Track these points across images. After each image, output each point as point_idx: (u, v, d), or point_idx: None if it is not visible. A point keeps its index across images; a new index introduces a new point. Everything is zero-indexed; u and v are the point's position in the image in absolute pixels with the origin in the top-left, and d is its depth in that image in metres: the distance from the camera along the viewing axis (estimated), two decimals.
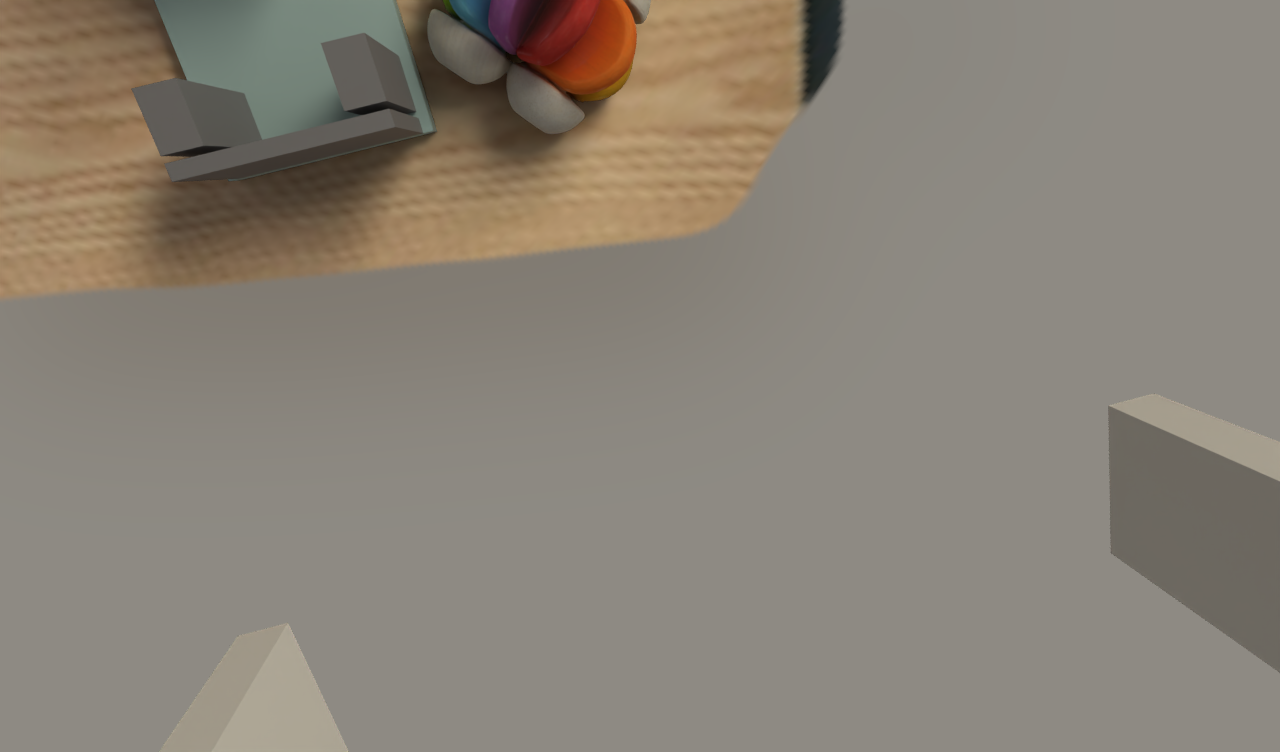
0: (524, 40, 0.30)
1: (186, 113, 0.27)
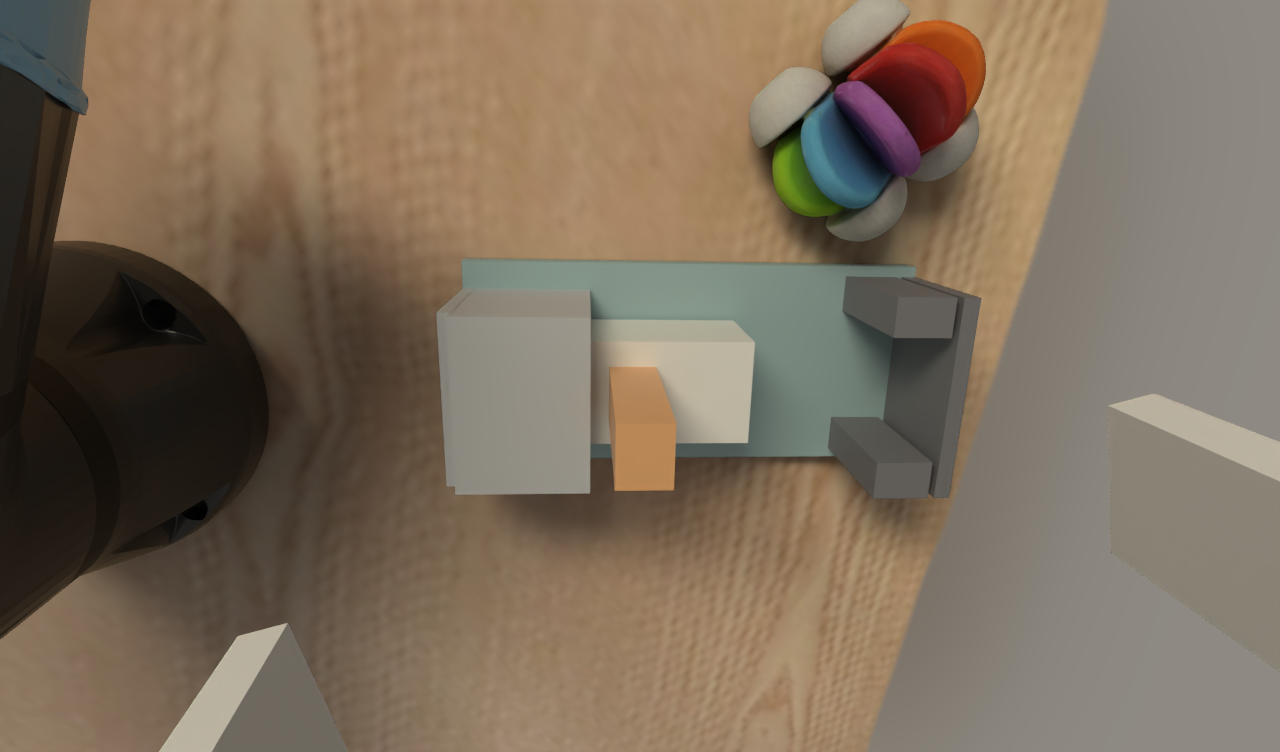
0: None
1: (905, 465, 0.30)
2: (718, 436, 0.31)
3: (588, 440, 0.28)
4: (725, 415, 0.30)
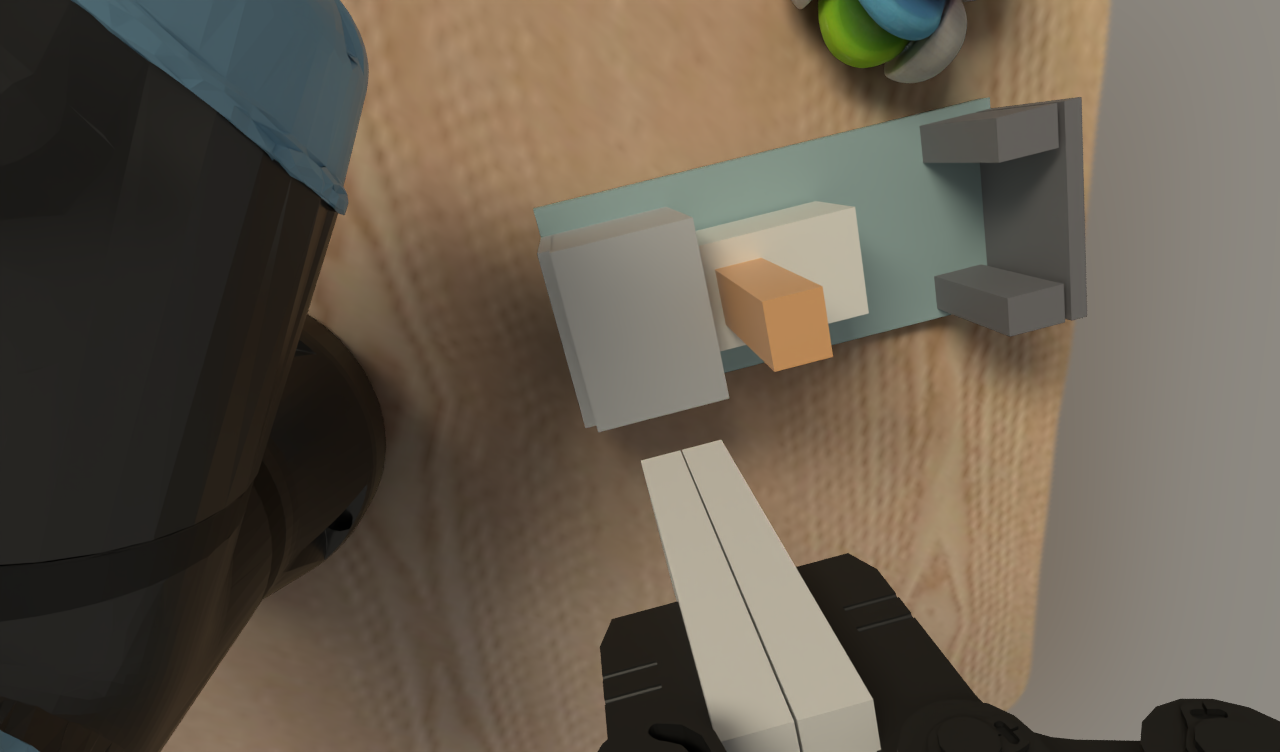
0: None
1: (1036, 294, 0.29)
2: (838, 313, 0.30)
3: (716, 344, 0.27)
4: (841, 290, 0.29)
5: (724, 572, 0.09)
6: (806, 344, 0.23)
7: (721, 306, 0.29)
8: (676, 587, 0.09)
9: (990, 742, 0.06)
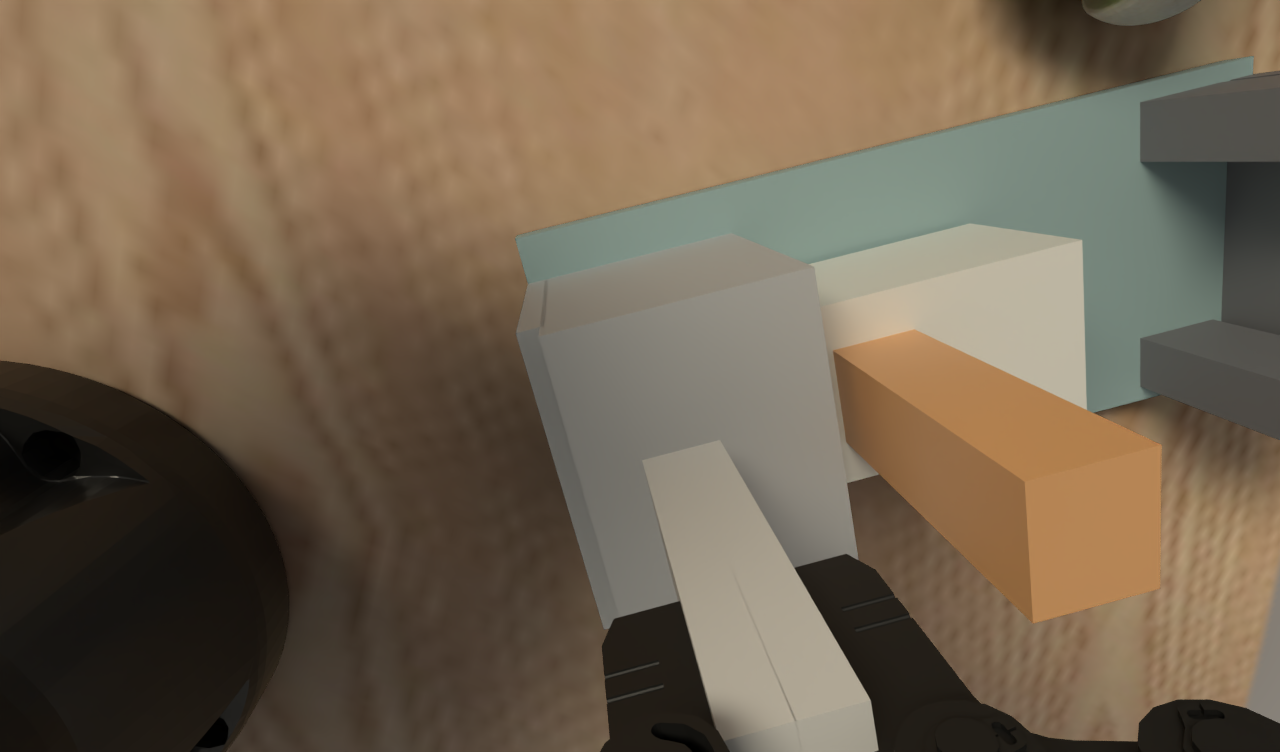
0: None
1: None
2: None
3: (845, 494, 0.15)
4: (1045, 382, 0.17)
5: (722, 573, 0.09)
6: (1108, 566, 0.10)
7: (841, 412, 0.17)
8: (678, 587, 0.09)
9: (987, 743, 0.06)
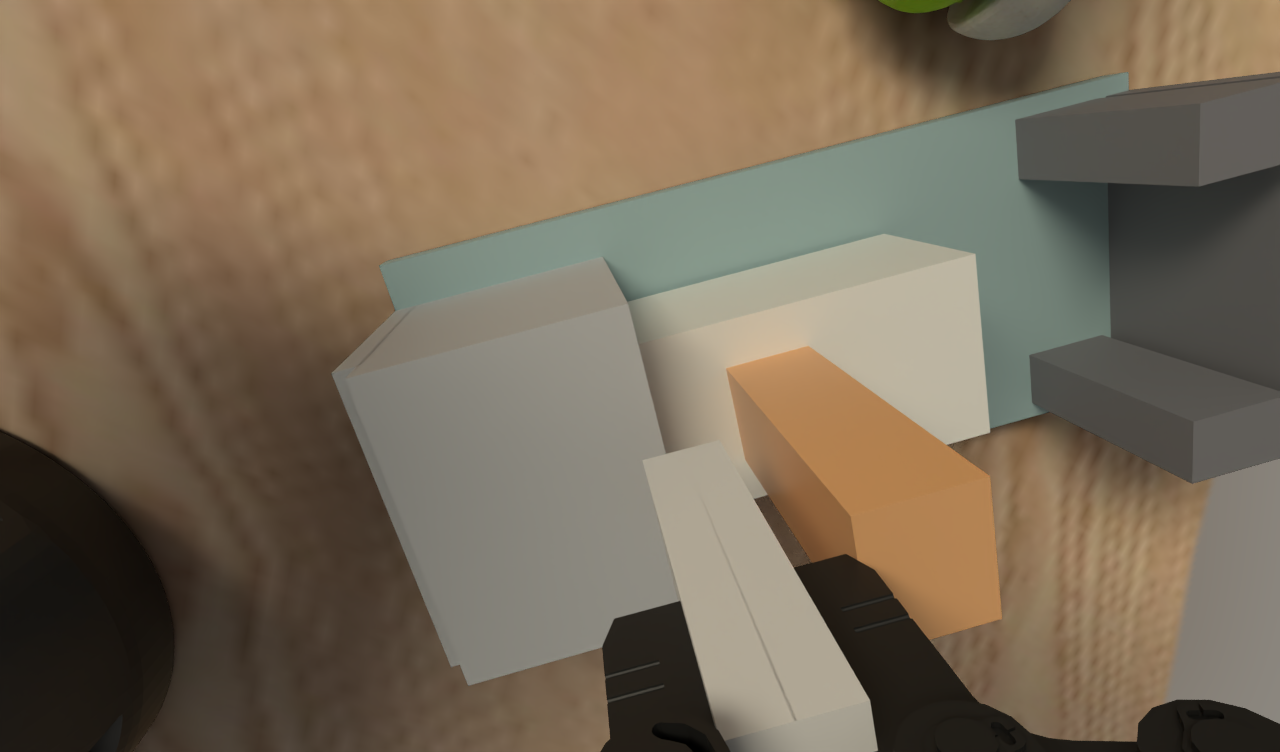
0: None
1: (1242, 412, 0.17)
2: (938, 435, 0.17)
3: None
4: (945, 397, 0.17)
5: (721, 572, 0.09)
6: (946, 598, 0.10)
7: (737, 430, 0.16)
8: (678, 587, 0.09)
9: (987, 743, 0.06)
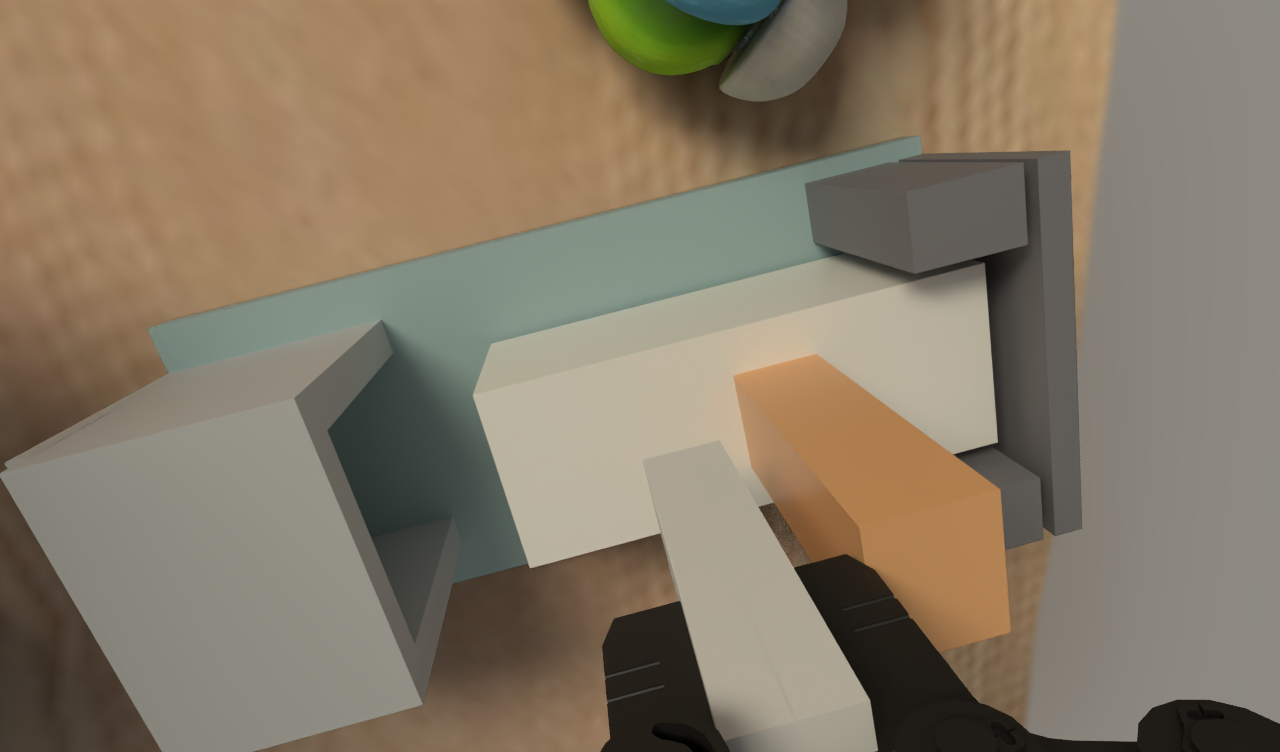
0: None
1: None
2: (945, 444, 0.17)
3: (383, 619, 0.14)
4: (953, 406, 0.17)
5: (722, 573, 0.09)
6: (954, 611, 0.10)
7: (744, 437, 0.16)
8: (678, 586, 0.09)
9: (987, 743, 0.06)
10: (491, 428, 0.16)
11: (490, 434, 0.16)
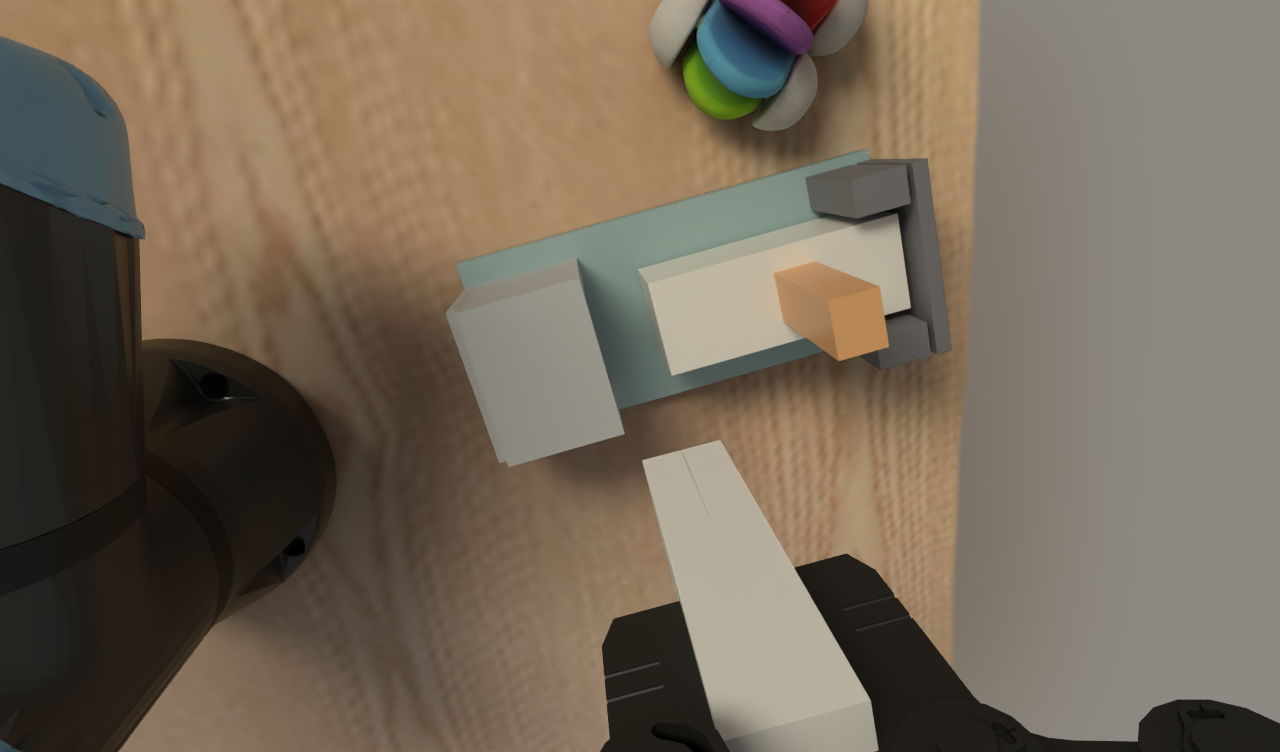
0: None
1: (902, 332, 0.32)
2: (883, 309, 0.33)
3: (609, 387, 0.31)
4: (885, 288, 0.33)
5: (722, 572, 0.09)
6: (866, 336, 0.26)
7: (779, 305, 0.33)
8: (678, 587, 0.09)
9: (987, 743, 0.06)
10: (655, 300, 0.32)
11: (655, 303, 0.32)
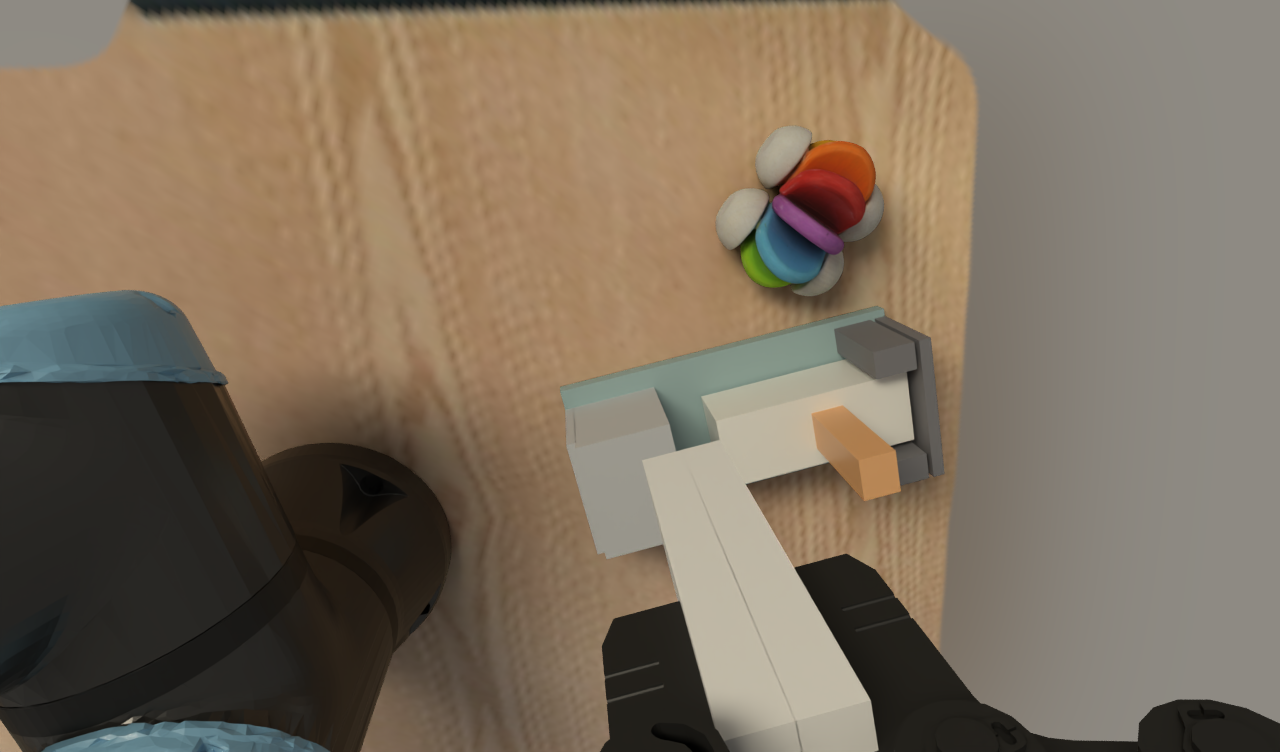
0: (834, 228, 0.41)
1: (907, 460, 0.42)
2: (893, 440, 0.43)
3: None
4: (895, 425, 0.43)
5: (722, 572, 0.09)
6: (884, 484, 0.36)
7: (814, 437, 0.43)
8: (678, 586, 0.09)
9: (987, 743, 0.06)
10: (721, 433, 0.42)
11: (720, 435, 0.42)
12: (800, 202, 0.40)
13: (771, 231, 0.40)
